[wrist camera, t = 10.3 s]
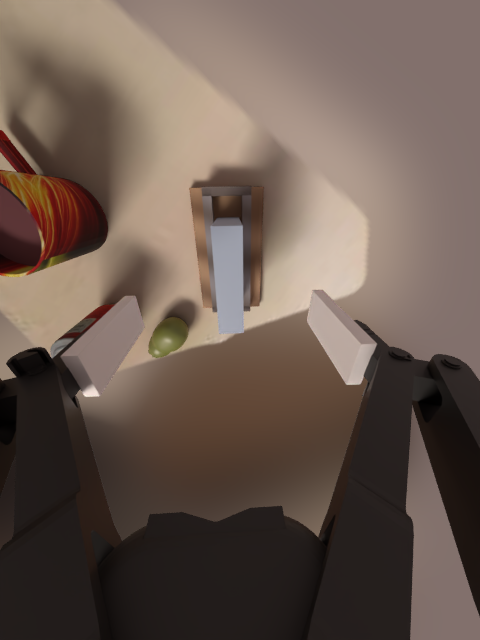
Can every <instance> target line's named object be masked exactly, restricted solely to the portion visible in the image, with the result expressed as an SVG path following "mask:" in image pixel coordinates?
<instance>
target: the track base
mask: <svg viewBox="0 0 480 640" xmlns="http://www.w3.org/2000/svg"><path fill="white" fill-rule="evenodd" d="M189 189H190V197H191V206H192V214H193V223H194V231H195V240H196V248H197V257H198V265H199V274H200V282H201V291H202V300H203V308H212V309H213V312H217V301H216V288H215V276H214V264H213V251H212V239H211V227H210V226H211V225H212V224H213V223H214V221H215V220H216V219H217V218H219V217H239V219H240V221H241V223H242V225H243V311H250V306H259V301H260V274H261V246H262V218H263V191H264V187H252V186H230V187H201V188H189Z"/></svg>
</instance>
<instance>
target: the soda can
mask: <svg viewBox="0 0 480 640" xmlns="http://www.w3.org/2000/svg"><path fill="white" fill-rule="evenodd" d="M115 305H116V304H110V305H103V306H100V307H98V308H97V309H95V310H94V311H93V312H91V313H90V314H89V315H88V316H86V317H85V318H84V319H83V320H81V321H80V322H79V323H78V324H77V325H75V326H74V327H73V328H72V329H70V330H69V331H68V332H67V333H65V334H64V335H63V336H62V337H60V338H59V339H58V340H57V341H55V343H54V344H53V345H52V347H51V357H52V358H53V357H55V356H56V355H57V354H58V353H59V352H60V351H61V350H62V349H63V348H64V347H66V346H67V345H68V344H69V343H70V342H72V340H73V339H74V338H75V337H77V336H78V335H79V334H81V333H83V332H85V331H86V330H89V329H90V328H91V327H92V326H93V325H94V324H95V323H96V322H97V321H99V320H100V319H101V318H102V317H103V316H104V315H105V314H106V313H107V312H108V311H109V310H110V309H111V308H112V307H113V306H115Z"/></svg>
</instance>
